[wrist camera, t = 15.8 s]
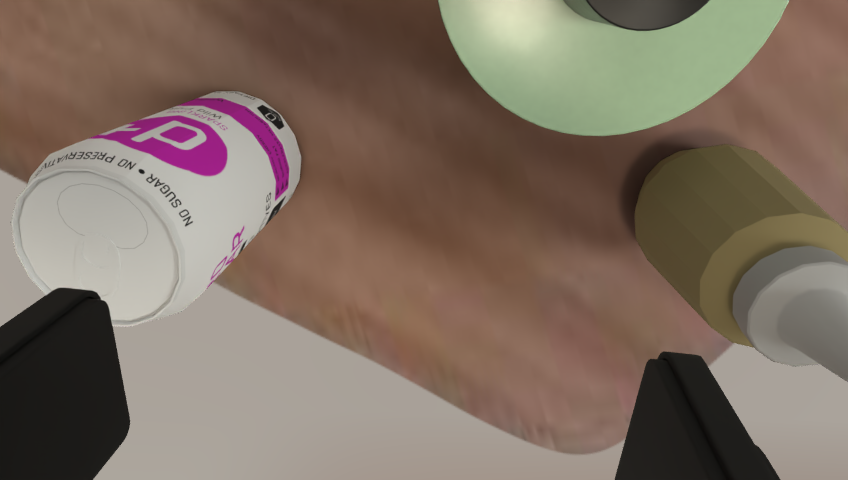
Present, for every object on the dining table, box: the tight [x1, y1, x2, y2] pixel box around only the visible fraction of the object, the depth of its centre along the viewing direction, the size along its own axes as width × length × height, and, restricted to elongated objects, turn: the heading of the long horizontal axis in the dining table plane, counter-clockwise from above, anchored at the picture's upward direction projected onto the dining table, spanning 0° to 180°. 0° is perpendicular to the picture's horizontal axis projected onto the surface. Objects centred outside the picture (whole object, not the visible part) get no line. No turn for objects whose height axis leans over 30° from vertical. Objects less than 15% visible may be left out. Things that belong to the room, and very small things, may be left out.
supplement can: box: [11, 91, 301, 327], centre depth 29 cm, size 8×8×15 cm
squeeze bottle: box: [635, 144, 848, 382], centre depth 26 cm, size 8×8×18 cm
